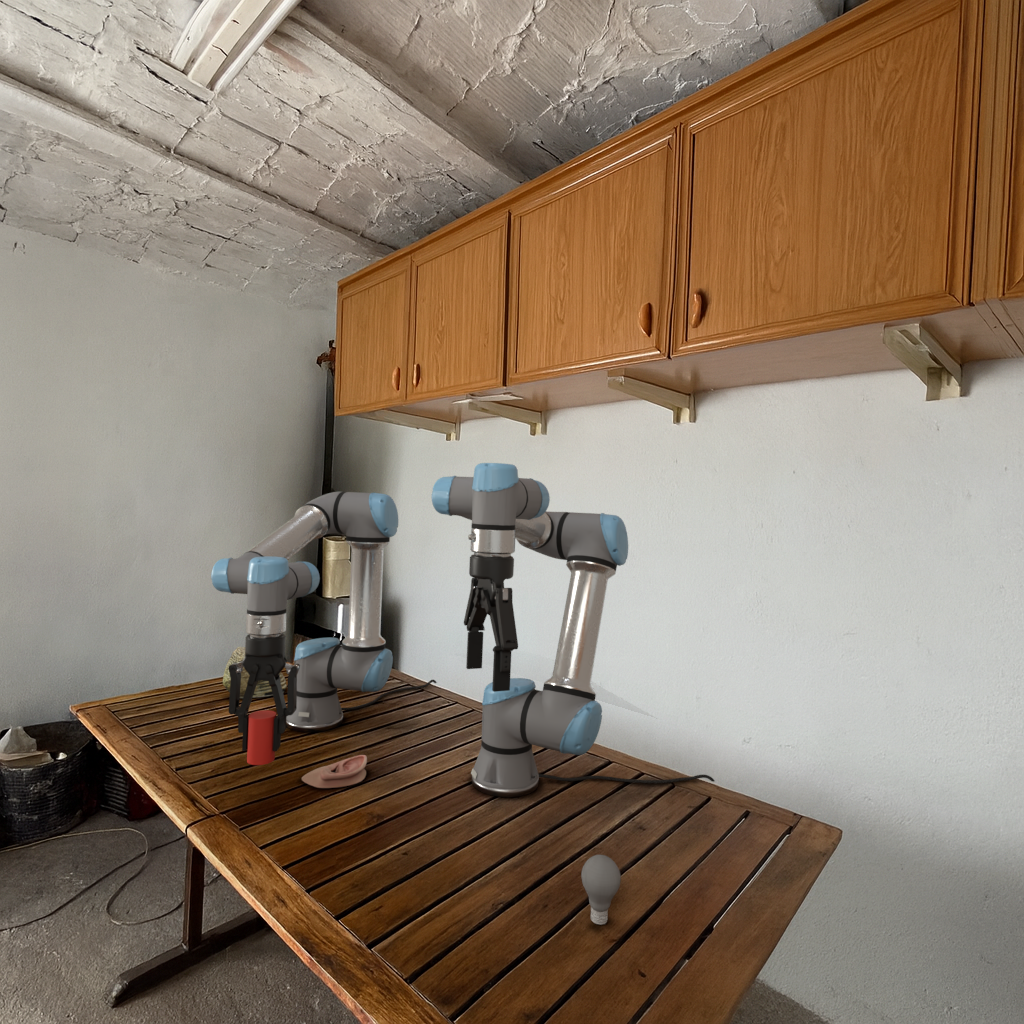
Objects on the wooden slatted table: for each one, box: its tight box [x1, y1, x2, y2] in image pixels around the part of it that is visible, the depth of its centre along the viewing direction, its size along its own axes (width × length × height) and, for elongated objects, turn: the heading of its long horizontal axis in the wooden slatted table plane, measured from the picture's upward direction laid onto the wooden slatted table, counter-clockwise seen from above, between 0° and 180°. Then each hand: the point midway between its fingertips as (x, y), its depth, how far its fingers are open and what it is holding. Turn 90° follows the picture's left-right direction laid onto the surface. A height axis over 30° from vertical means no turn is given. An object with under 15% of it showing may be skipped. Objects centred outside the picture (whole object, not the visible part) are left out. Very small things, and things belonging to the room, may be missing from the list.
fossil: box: [222, 646, 288, 699], centre depth 198 cm, size 9×18×15 cm, turn 132°
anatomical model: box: [301, 754, 368, 789], centre depth 143 cm, size 13×4×12 cm
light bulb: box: [580, 854, 622, 926], centre depth 97 cm, size 6×6×10 cm
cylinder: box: [246, 709, 277, 766], centre depth 128 cm, size 5×5×9 cm
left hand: (261, 748), depth 128 cm, fingers closed on cylinder, 5 cm apart
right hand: (486, 678), depth 108 cm, fingers open, 13 cm apart
